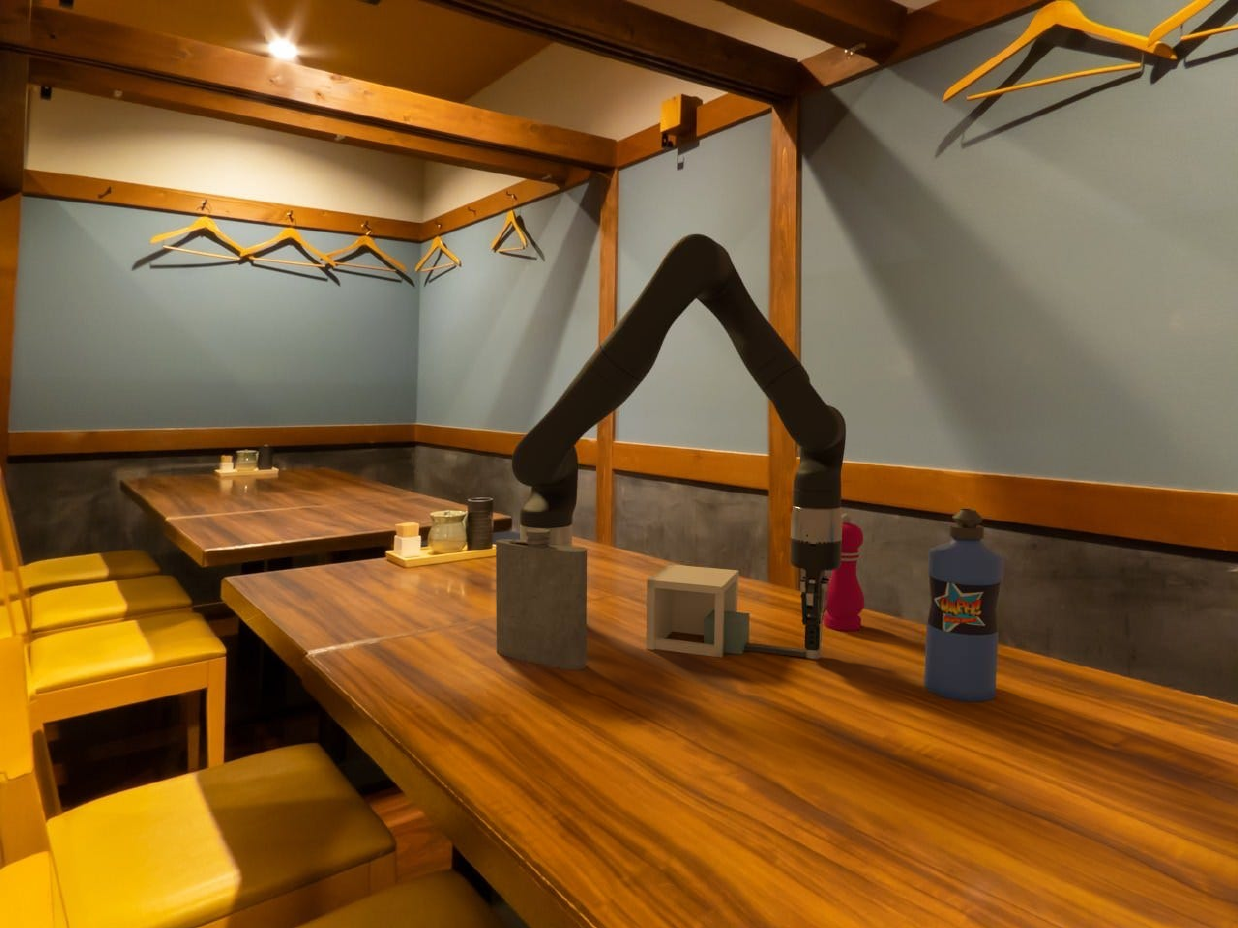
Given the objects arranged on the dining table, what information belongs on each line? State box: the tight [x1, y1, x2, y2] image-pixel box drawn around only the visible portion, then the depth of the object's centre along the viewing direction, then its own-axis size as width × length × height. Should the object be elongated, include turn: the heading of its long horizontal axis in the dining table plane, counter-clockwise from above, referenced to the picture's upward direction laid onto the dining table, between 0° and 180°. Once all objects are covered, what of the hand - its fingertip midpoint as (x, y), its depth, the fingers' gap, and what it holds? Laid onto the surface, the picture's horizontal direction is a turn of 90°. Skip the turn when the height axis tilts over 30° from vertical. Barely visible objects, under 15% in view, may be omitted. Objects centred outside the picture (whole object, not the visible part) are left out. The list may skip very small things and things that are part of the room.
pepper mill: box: [823, 513, 865, 632], centre depth 134 cm, size 7×7×20 cm
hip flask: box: [495, 528, 588, 671], centre depth 115 cm, size 16×4×20 cm, turn 61°
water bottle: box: [923, 508, 1005, 703], centre depth 105 cm, size 9×9×25 cm
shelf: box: [645, 564, 739, 658], centre depth 125 cm, size 12×12×11 cm
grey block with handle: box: [703, 609, 823, 660], centre depth 121 cm, size 18×6×8 cm, turn 70°
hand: (813, 646), depth 118 cm, fingers closed on grey block with handle, 2 cm apart
